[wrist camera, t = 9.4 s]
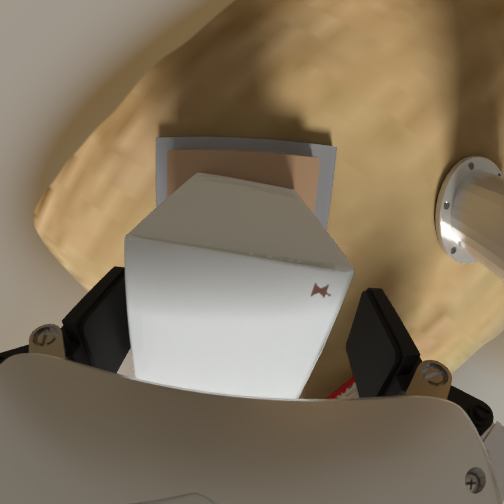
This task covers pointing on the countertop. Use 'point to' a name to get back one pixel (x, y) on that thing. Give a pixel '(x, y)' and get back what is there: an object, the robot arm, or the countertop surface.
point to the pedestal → (249, 166)
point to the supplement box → (232, 289)
